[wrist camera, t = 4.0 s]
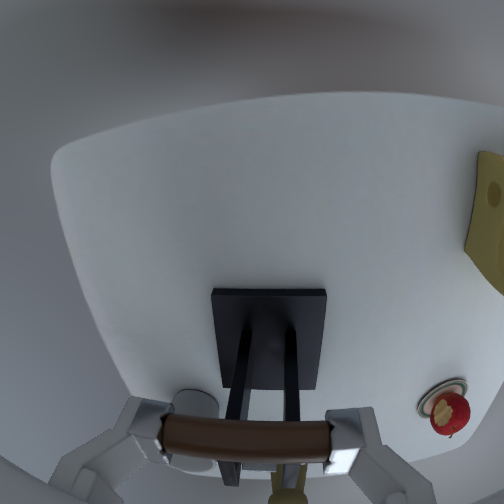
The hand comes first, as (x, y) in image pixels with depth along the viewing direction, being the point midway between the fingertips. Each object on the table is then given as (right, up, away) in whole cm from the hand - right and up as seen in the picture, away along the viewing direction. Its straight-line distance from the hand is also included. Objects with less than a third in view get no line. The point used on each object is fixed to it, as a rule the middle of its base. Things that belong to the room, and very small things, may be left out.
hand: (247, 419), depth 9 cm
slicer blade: (0, -4, +5) cm, 6 cm away
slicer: (+2, -3, +20) cm, 21 cm away
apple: (+26, -14, +23) cm, 38 cm away
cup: (-7, -14, +26) cm, 30 cm away
